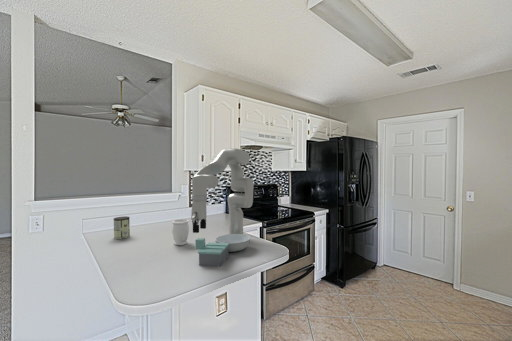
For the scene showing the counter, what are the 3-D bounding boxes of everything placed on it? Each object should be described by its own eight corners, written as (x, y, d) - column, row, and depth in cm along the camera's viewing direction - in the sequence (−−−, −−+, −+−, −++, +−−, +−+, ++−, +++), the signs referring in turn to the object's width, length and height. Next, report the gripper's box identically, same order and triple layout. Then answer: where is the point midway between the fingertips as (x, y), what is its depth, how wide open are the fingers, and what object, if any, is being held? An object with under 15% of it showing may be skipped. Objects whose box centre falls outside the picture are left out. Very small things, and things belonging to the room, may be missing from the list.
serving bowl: (232, 242, 162) (232, 231, 162) (257, 248, 149) (257, 237, 149) (208, 250, 146) (207, 238, 146) (233, 258, 133) (232, 245, 133)
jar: (184, 246, 154) (183, 222, 154) (169, 245, 156) (168, 222, 156) (191, 241, 165) (191, 219, 165) (177, 240, 167) (177, 218, 167)
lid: (202, 246, 139) (202, 235, 139) (229, 247, 136) (228, 236, 136) (190, 256, 123) (190, 243, 123) (220, 257, 121) (220, 244, 121)
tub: (209, 255, 138) (209, 244, 138) (228, 255, 136) (228, 245, 136) (199, 265, 123) (198, 253, 123) (220, 266, 121) (219, 254, 121)
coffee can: (119, 235, 184) (119, 216, 184) (132, 235, 183) (132, 216, 183) (110, 238, 174) (110, 219, 174) (124, 239, 173) (123, 219, 173)
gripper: (199, 196, 140) (199, 226, 140) (185, 199, 123) (185, 234, 122) (211, 196, 139) (211, 227, 138) (200, 200, 122) (200, 234, 121)
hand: (199, 230), depth 130 cm, fingers open, 9 cm apart
